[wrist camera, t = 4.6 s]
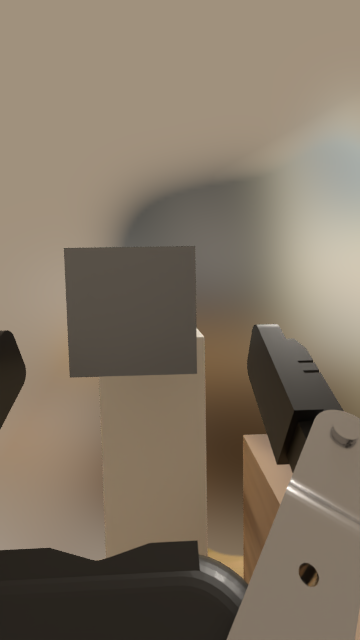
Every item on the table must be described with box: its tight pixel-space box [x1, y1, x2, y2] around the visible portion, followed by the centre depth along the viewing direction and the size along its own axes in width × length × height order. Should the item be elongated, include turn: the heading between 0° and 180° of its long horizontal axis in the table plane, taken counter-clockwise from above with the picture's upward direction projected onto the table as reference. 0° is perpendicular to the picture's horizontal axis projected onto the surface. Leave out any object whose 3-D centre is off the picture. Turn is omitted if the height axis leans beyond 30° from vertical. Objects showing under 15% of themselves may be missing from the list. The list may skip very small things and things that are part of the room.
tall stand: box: [99, 328, 208, 558], centre depth 25 cm, size 9×13×32 cm
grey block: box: [64, 246, 197, 377], centre depth 21 cm, size 4×24×4 cm, turn 2°
